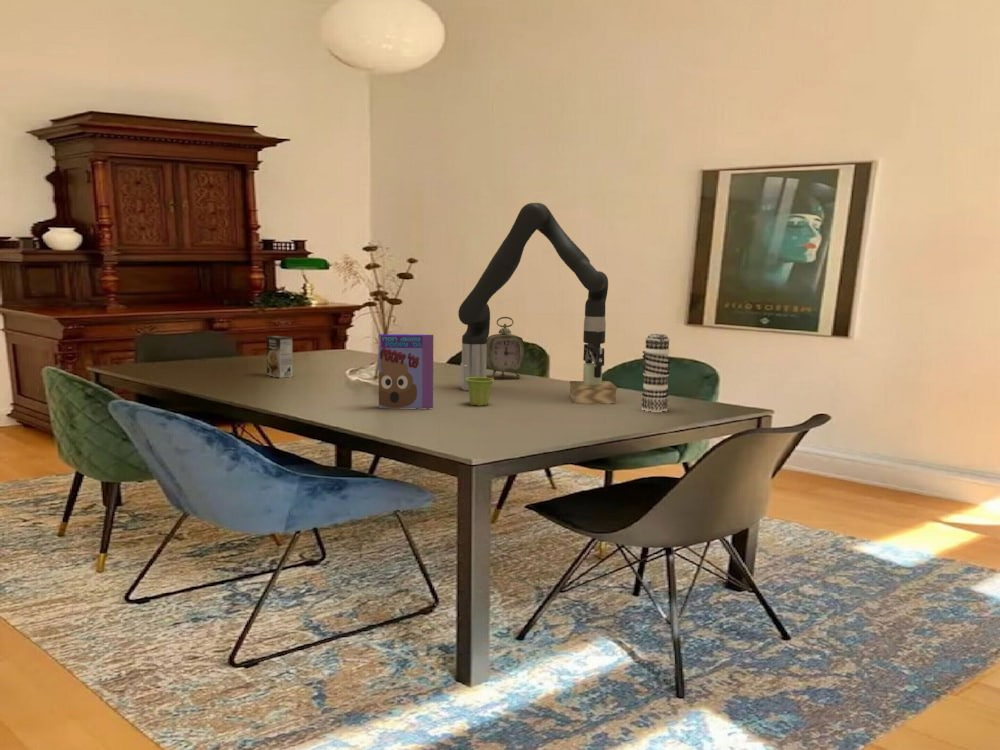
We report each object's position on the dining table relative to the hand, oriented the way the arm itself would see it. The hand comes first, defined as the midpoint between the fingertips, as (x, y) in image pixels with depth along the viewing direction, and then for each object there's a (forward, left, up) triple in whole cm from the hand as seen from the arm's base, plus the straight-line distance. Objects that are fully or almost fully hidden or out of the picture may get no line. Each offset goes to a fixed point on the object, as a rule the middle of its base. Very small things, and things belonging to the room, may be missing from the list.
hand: (593, 375), depth 298 cm
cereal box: (-66, -4, -9) cm, 67 cm away
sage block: (0, 0, -3) cm, 3 cm away
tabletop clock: (-18, +54, -9) cm, 58 cm away
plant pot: (-41, -2, -9) cm, 42 cm away
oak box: (0, 0, -9) cm, 9 cm away
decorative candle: (+14, -21, -9) cm, 27 cm away
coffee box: (-106, +71, -9) cm, 128 cm away
